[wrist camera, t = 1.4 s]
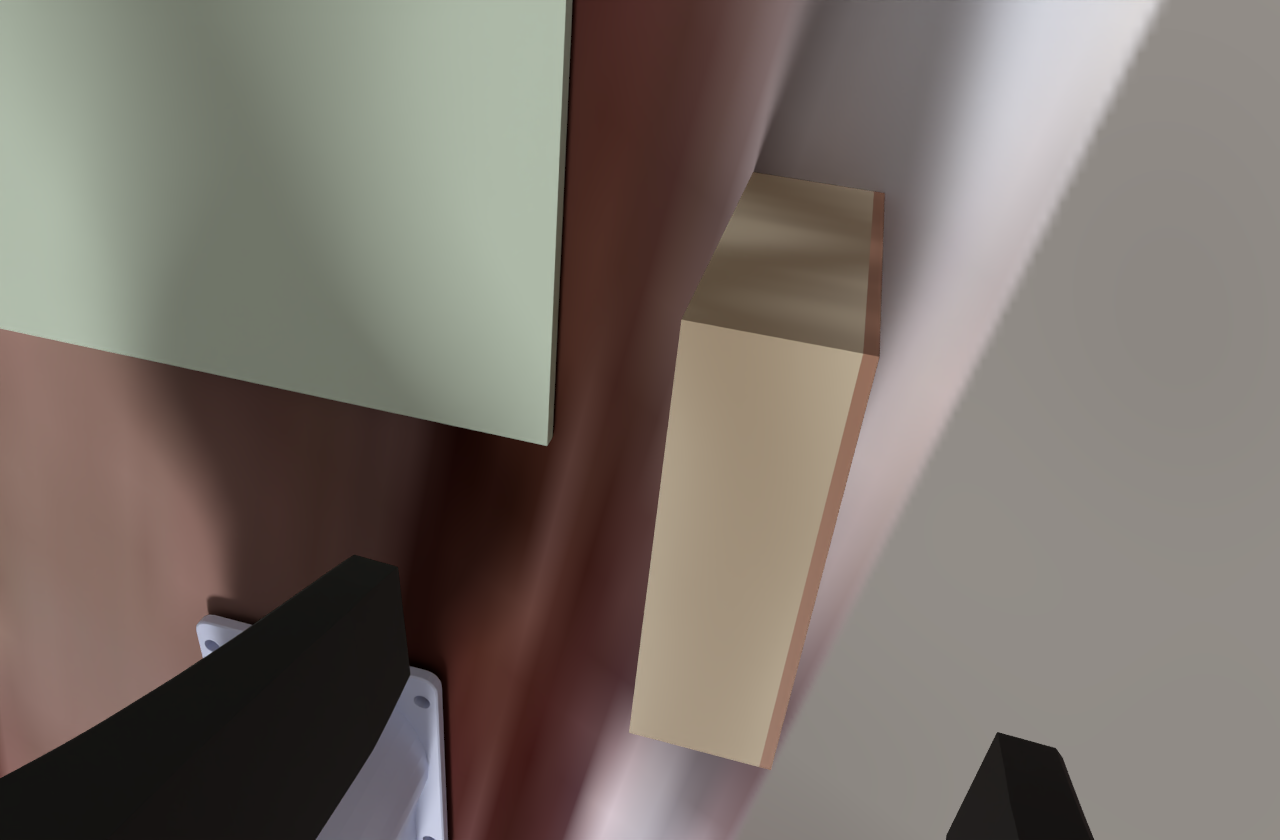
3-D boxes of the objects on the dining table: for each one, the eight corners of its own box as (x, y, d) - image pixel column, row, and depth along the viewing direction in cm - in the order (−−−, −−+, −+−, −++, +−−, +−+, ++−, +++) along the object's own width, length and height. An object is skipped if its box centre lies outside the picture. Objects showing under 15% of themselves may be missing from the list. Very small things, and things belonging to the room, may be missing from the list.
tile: (885, 192, 17) (879, 356, 11) (804, 524, 21) (770, 769, 15) (753, 171, 17) (681, 318, 11) (701, 502, 22) (629, 732, 16)
